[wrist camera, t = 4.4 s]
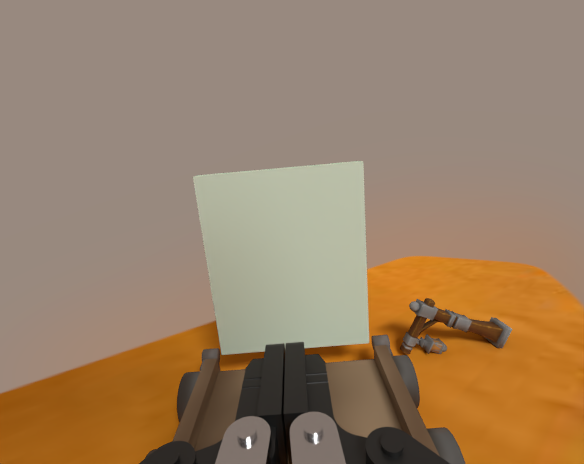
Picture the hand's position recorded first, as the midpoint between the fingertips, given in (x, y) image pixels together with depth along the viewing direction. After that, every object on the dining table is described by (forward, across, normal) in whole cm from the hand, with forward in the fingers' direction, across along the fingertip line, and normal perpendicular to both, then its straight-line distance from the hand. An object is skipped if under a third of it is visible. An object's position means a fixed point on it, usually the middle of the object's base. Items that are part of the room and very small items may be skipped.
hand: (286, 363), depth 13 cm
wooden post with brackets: (+11, -12, +8) cm, 18 cm away
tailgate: (+9, 0, +6) cm, 10 cm away
